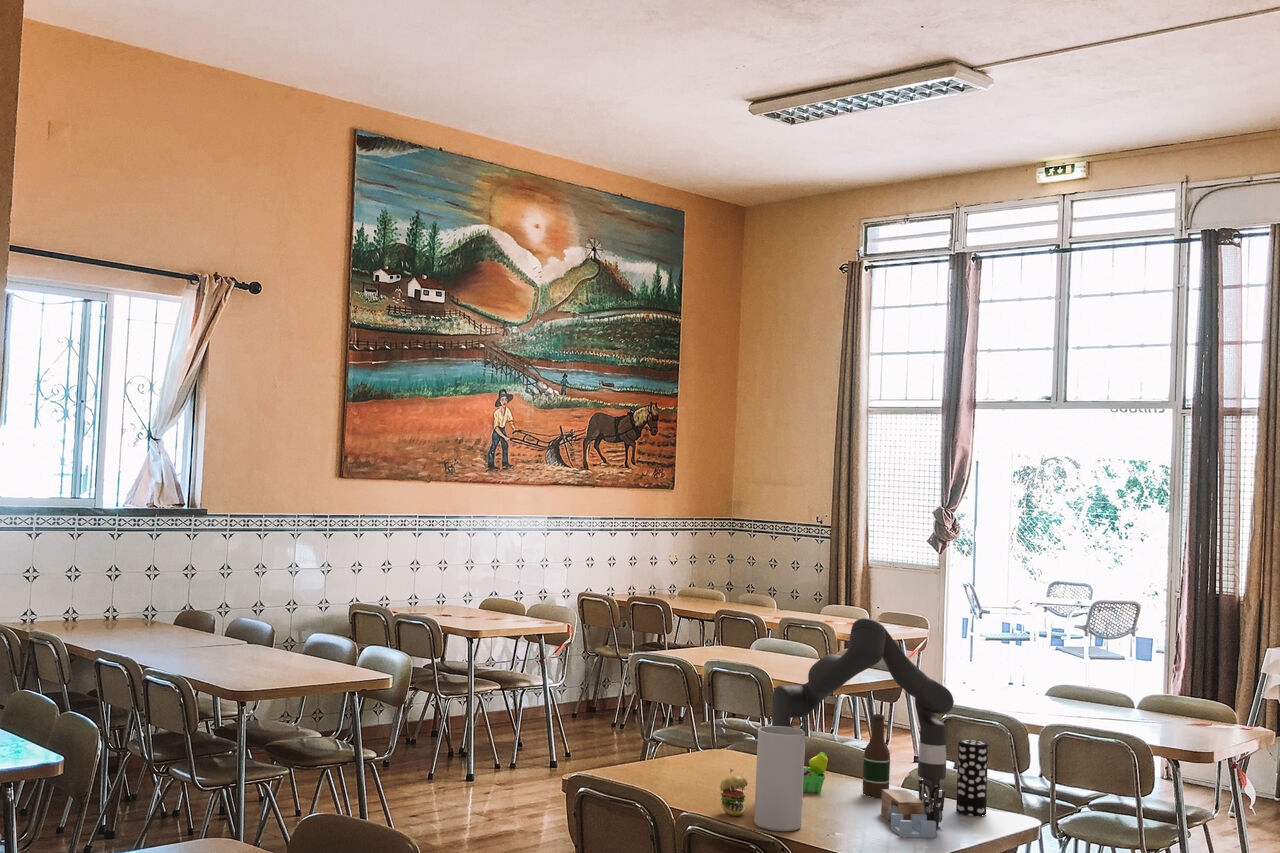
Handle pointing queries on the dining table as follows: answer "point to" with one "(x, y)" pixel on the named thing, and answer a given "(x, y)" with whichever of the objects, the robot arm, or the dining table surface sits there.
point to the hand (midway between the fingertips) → (930, 822)
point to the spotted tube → (972, 777)
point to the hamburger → (733, 795)
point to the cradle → (913, 826)
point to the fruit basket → (815, 773)
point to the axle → (926, 811)
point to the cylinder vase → (779, 778)
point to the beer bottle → (876, 761)
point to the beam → (901, 803)
